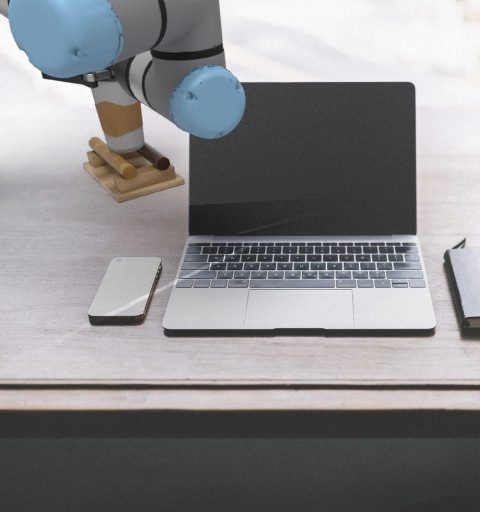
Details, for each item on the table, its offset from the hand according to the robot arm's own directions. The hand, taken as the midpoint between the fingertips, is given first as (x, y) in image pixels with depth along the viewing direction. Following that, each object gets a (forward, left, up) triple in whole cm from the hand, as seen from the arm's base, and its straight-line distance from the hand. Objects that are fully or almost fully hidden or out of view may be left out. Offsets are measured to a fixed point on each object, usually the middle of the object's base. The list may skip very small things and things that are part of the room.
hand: (98, 45), depth 89 cm
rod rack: (-7, +11, -26) cm, 29 cm away
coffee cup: (-7, +11, -20) cm, 24 cm away
